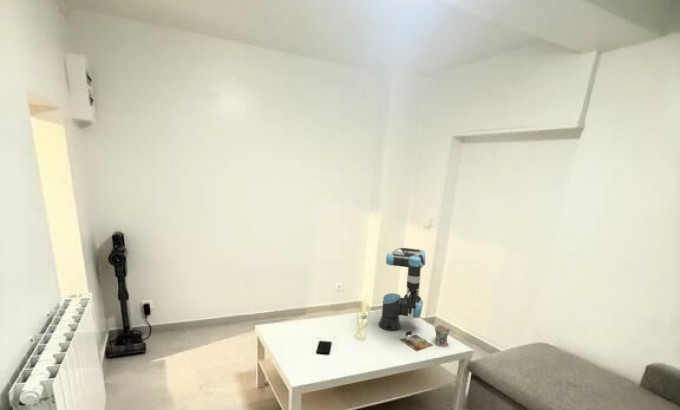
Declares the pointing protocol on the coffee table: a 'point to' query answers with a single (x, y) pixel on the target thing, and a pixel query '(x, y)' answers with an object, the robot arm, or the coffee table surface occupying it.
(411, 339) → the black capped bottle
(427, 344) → the brown picture tile
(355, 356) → the coffee table surface
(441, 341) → the mug
